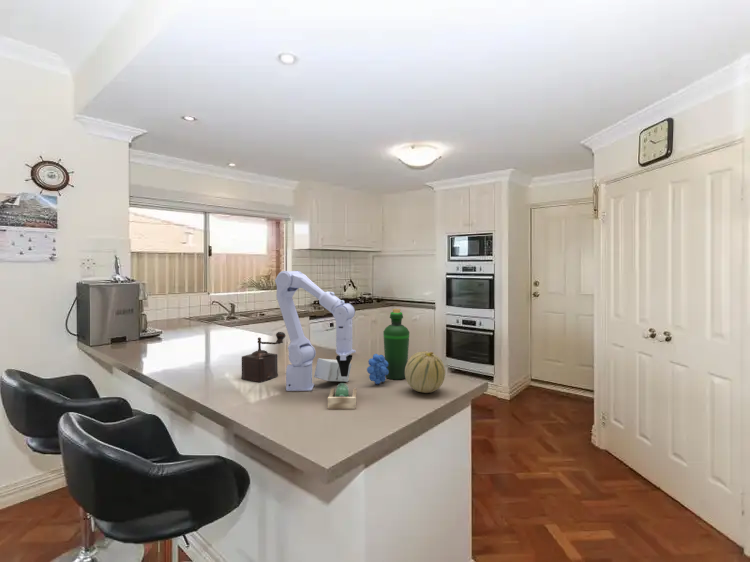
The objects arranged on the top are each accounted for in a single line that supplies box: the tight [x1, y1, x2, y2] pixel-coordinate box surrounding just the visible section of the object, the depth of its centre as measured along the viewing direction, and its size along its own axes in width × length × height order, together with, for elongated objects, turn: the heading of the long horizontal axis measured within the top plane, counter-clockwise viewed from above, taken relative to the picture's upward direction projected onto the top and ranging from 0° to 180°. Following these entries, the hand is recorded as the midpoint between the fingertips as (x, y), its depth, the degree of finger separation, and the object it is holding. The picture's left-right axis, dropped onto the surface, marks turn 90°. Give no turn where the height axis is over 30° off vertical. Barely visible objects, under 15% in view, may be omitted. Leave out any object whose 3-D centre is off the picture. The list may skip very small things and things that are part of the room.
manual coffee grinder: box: [241, 331, 286, 384], centre depth 167 cm, size 16×11×18 cm
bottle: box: [383, 308, 410, 381], centre depth 166 cm, size 11×11×28 cm
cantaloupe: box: [404, 350, 446, 394], centre depth 147 cm, size 15×15×15 cm
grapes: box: [366, 353, 389, 385], centre depth 156 cm, size 12×7×12 cm, turn 138°
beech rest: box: [327, 388, 358, 410], centre depth 136 cm, size 9×13×4 cm
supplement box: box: [313, 357, 352, 383], centre depth 157 cm, size 7×7×13 cm
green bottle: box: [335, 382, 350, 397], centre depth 138 cm, size 4×4×11 cm
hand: (344, 376), depth 145 cm, fingers closed
